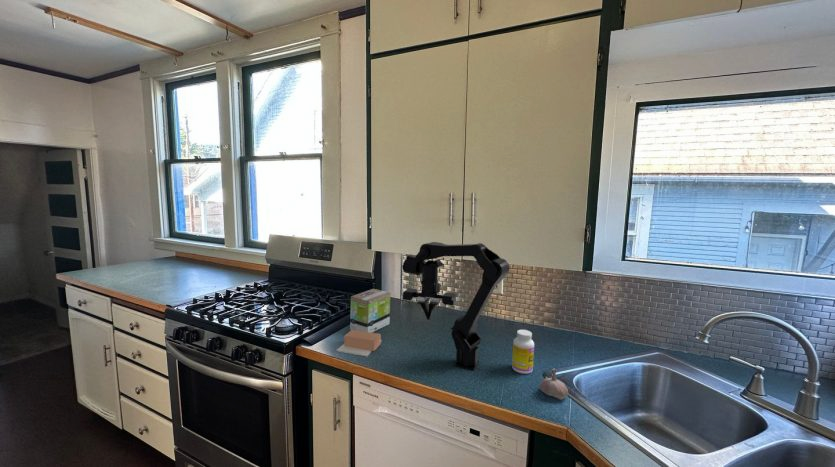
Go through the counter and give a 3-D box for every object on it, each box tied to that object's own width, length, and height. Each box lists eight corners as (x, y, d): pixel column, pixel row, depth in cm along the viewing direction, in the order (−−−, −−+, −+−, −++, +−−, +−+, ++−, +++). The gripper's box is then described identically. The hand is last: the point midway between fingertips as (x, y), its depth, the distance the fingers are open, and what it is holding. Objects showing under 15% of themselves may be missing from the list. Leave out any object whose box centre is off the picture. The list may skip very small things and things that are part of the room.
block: (380, 334, 129) (351, 329, 133) (373, 340, 124) (344, 335, 127) (380, 344, 130) (352, 339, 133) (373, 351, 124) (344, 346, 128)
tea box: (368, 336, 138) (368, 300, 136) (349, 330, 143) (349, 296, 141) (390, 324, 151) (390, 291, 149) (372, 319, 156) (372, 287, 154)
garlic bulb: (534, 389, 103) (536, 364, 102) (555, 385, 105) (556, 361, 104) (551, 404, 96) (553, 377, 95) (573, 400, 98) (575, 373, 97)
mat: (381, 341, 133) (381, 339, 133) (366, 356, 121) (366, 355, 121) (353, 336, 137) (353, 335, 137) (336, 351, 125) (336, 349, 125)
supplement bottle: (529, 376, 110) (532, 338, 108) (509, 370, 113) (511, 333, 112) (534, 367, 115) (537, 331, 114) (515, 362, 119) (517, 326, 117)
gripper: (459, 274, 128) (458, 314, 130) (411, 270, 133) (411, 309, 135) (453, 282, 117) (452, 325, 119) (402, 277, 123) (401, 319, 125)
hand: (428, 319), depth 125 cm, fingers closed
